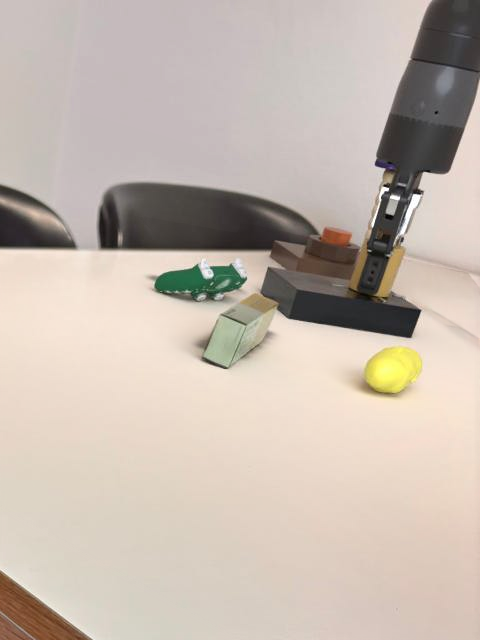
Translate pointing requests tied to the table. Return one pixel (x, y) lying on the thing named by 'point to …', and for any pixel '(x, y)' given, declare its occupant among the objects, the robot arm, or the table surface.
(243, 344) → the medication box
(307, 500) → the table surface
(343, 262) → the switch block
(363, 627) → the table surface
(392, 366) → the lemon
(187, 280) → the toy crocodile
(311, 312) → the dark grey flat block
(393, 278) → the dimmer knob
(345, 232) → the power button
